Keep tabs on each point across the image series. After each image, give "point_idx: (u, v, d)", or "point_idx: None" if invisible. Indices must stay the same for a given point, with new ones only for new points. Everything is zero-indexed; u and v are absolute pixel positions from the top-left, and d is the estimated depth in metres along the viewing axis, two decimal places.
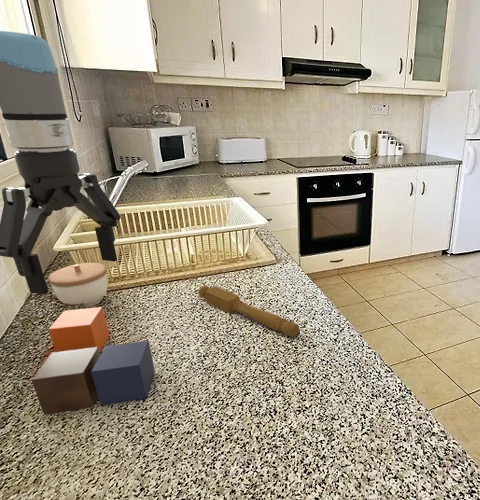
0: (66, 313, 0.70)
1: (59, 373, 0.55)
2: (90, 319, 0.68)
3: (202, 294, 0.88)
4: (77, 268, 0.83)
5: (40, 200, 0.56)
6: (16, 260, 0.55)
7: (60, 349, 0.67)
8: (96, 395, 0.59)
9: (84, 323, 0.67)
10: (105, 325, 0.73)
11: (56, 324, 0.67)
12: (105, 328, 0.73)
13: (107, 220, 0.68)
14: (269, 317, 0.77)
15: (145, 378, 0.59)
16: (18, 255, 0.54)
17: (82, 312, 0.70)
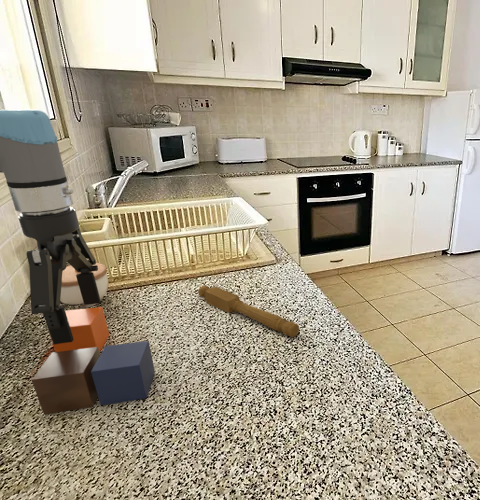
0: (66, 313, 0.70)
1: (59, 373, 0.55)
2: (90, 319, 0.68)
3: (202, 294, 0.88)
4: None
5: (55, 257, 0.61)
6: (47, 315, 0.59)
7: (60, 349, 0.67)
8: (96, 395, 0.59)
9: (84, 323, 0.67)
10: (105, 325, 0.73)
11: None
12: (105, 328, 0.73)
13: (90, 266, 0.73)
14: (269, 317, 0.77)
15: (145, 378, 0.59)
16: None
17: (82, 312, 0.70)
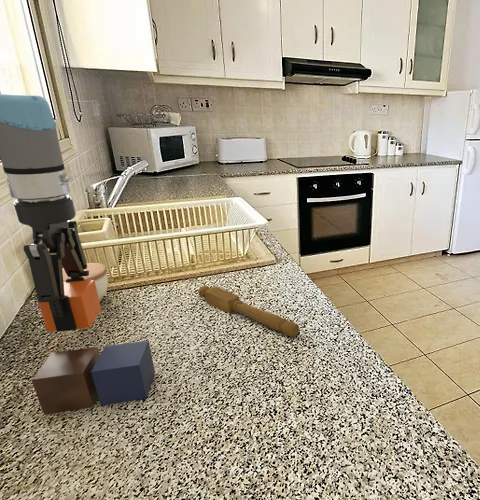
0: None
1: (59, 373, 0.55)
2: (81, 290, 0.66)
3: (202, 294, 0.88)
4: None
5: (50, 245, 0.60)
6: (52, 304, 0.62)
7: (50, 321, 0.65)
8: (96, 395, 0.59)
9: (74, 294, 0.65)
10: (97, 299, 0.71)
11: None
12: (97, 302, 0.71)
13: (81, 269, 0.70)
14: (269, 317, 0.77)
15: (145, 378, 0.59)
16: (58, 300, 0.62)
17: (74, 284, 0.68)
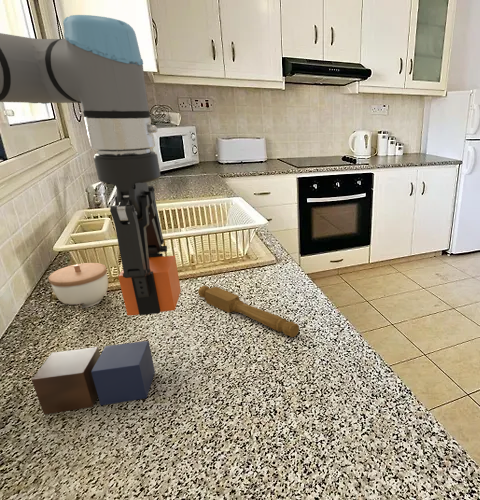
0: None
1: (59, 373, 0.55)
2: (166, 266, 0.56)
3: (202, 294, 0.88)
4: (77, 268, 0.83)
5: (135, 208, 0.50)
6: (137, 280, 0.52)
7: (131, 302, 0.55)
8: (96, 395, 0.59)
9: (159, 270, 0.55)
10: (177, 278, 0.61)
11: None
12: (178, 281, 0.61)
13: (159, 243, 0.60)
14: (269, 317, 0.77)
15: (145, 378, 0.59)
16: (144, 275, 0.52)
17: (153, 260, 0.58)
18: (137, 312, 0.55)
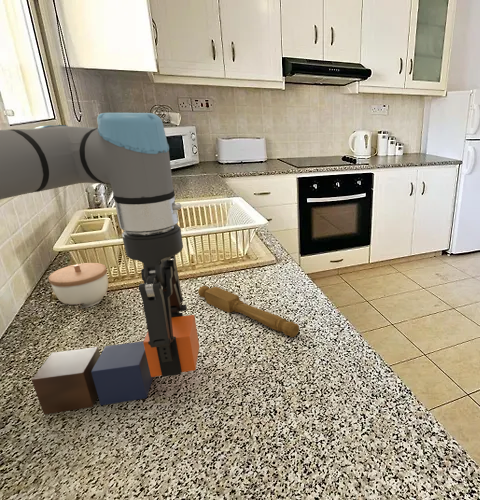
0: None
1: (59, 373, 0.55)
2: (187, 329, 0.59)
3: (202, 294, 0.88)
4: (77, 268, 0.83)
5: (161, 282, 0.53)
6: (162, 347, 0.55)
7: (154, 365, 0.58)
8: (96, 395, 0.59)
9: (181, 334, 0.58)
10: (196, 335, 0.64)
11: None
12: (197, 339, 0.64)
13: (180, 304, 0.63)
14: (269, 317, 0.77)
15: (145, 378, 0.59)
16: None
17: (174, 321, 0.61)
18: (160, 373, 0.58)
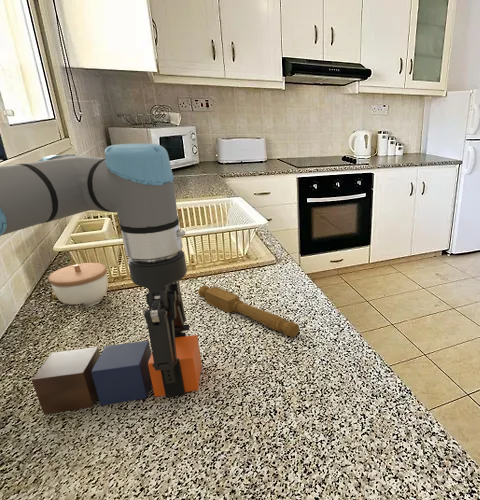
0: None
1: (59, 373, 0.55)
2: (190, 350, 0.60)
3: (202, 294, 0.88)
4: (77, 268, 0.83)
5: (165, 306, 0.55)
6: (166, 370, 0.56)
7: (158, 385, 0.59)
8: (96, 395, 0.59)
9: (185, 356, 0.59)
10: (199, 355, 0.65)
11: None
12: (199, 358, 0.65)
13: (183, 324, 0.64)
14: (269, 317, 0.77)
15: (145, 378, 0.59)
16: None
17: (178, 341, 0.63)
18: (163, 393, 0.60)
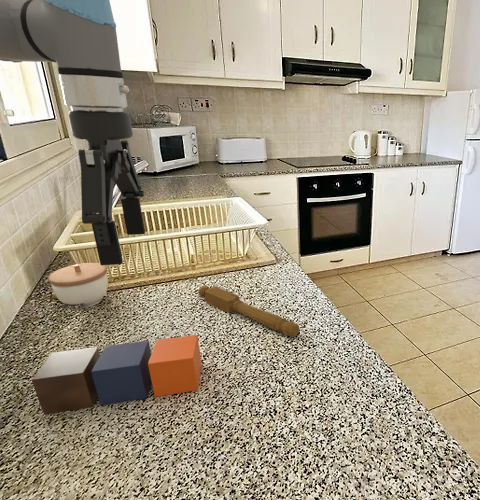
0: (160, 342, 0.62)
1: (59, 373, 0.55)
2: (190, 350, 0.60)
3: (202, 294, 0.88)
4: (77, 268, 0.83)
5: (107, 164, 0.53)
6: (97, 228, 0.52)
7: (158, 385, 0.59)
8: (96, 395, 0.59)
9: (185, 356, 0.59)
10: (199, 355, 0.65)
11: (154, 357, 0.59)
12: (199, 358, 0.65)
13: (136, 190, 0.65)
14: (269, 317, 0.77)
15: (145, 378, 0.59)
16: None
17: (178, 341, 0.63)
18: (163, 393, 0.60)
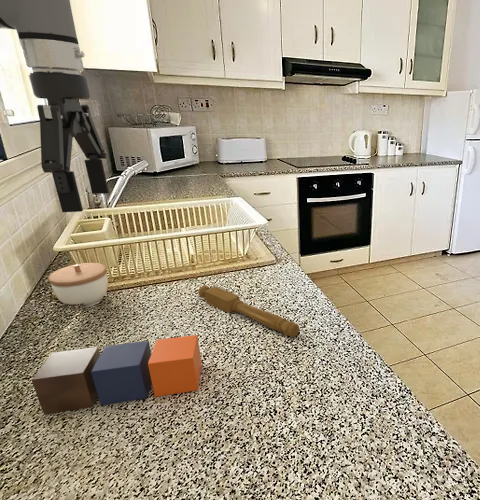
0: (160, 342, 0.62)
1: (59, 373, 0.55)
2: (190, 350, 0.60)
3: (202, 294, 0.88)
4: (77, 268, 0.83)
5: (65, 120, 0.60)
6: (57, 176, 0.58)
7: (158, 385, 0.59)
8: (96, 395, 0.59)
9: (185, 356, 0.59)
10: (199, 355, 0.65)
11: (154, 357, 0.59)
12: (199, 358, 0.65)
13: (99, 152, 0.71)
14: (269, 317, 0.77)
15: (145, 378, 0.59)
16: (62, 170, 0.58)
17: (178, 341, 0.63)
18: (163, 393, 0.60)
